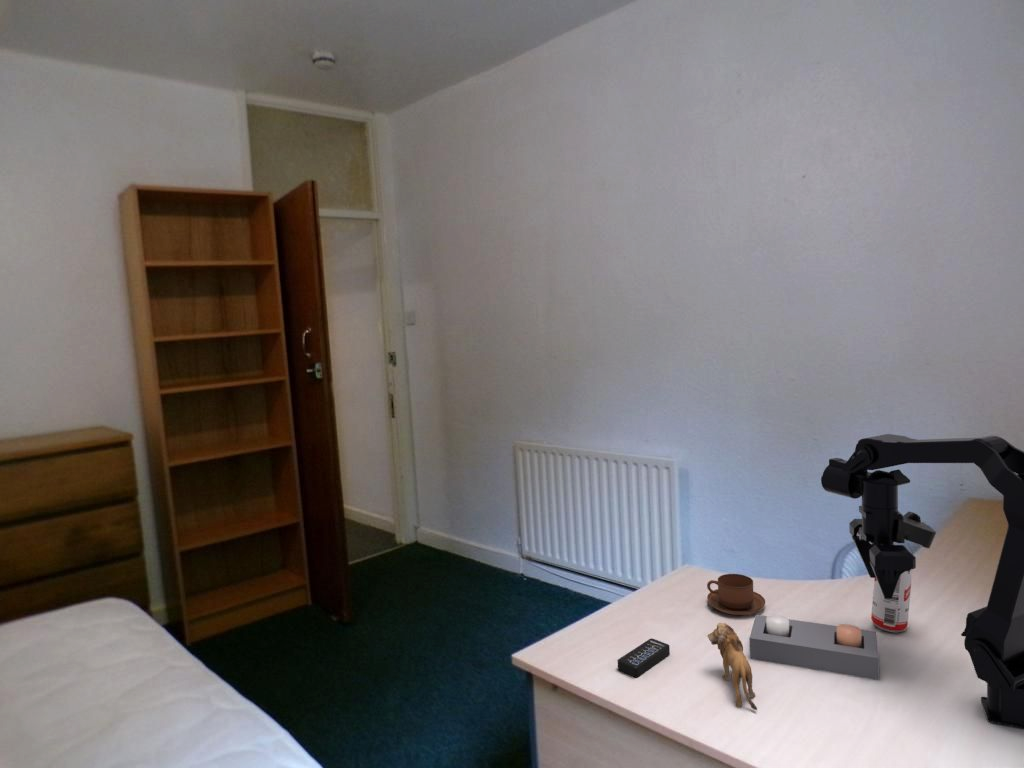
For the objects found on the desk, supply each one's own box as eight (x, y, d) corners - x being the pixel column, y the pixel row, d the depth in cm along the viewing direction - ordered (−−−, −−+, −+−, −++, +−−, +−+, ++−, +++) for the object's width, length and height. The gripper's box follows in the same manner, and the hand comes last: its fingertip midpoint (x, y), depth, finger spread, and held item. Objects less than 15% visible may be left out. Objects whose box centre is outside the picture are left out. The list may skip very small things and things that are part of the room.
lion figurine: (706, 667, 120) (704, 620, 119) (734, 664, 121) (732, 617, 120) (741, 715, 106) (739, 662, 105) (773, 711, 106) (771, 658, 105)
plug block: (878, 680, 113) (878, 658, 112) (750, 658, 122) (749, 637, 122) (876, 651, 122) (876, 631, 121) (756, 633, 131) (755, 614, 131)
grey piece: (788, 643, 122) (788, 625, 121) (765, 640, 123) (765, 622, 123) (790, 633, 125) (789, 616, 125) (767, 630, 127) (767, 613, 127)
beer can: (870, 629, 129) (877, 551, 127) (870, 615, 134) (876, 541, 132) (908, 637, 126) (915, 557, 124) (906, 623, 131) (913, 546, 129)
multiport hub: (616, 671, 121) (616, 660, 121) (651, 648, 129) (651, 637, 129) (636, 680, 118) (635, 668, 118) (670, 656, 126) (670, 644, 125)
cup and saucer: (709, 618, 139) (708, 590, 138) (706, 594, 151) (705, 568, 150) (769, 621, 136) (768, 593, 135) (761, 596, 148) (760, 570, 147)
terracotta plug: (861, 655, 116) (861, 636, 116) (836, 651, 118) (836, 632, 118) (861, 644, 120) (861, 626, 119) (836, 640, 122) (836, 622, 121)
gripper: (950, 521, 107) (950, 613, 109) (912, 490, 125) (912, 569, 127) (875, 520, 110) (876, 609, 112) (848, 490, 128) (849, 567, 129)
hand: (880, 587), depth 120 cm, fingers open, 9 cm apart
